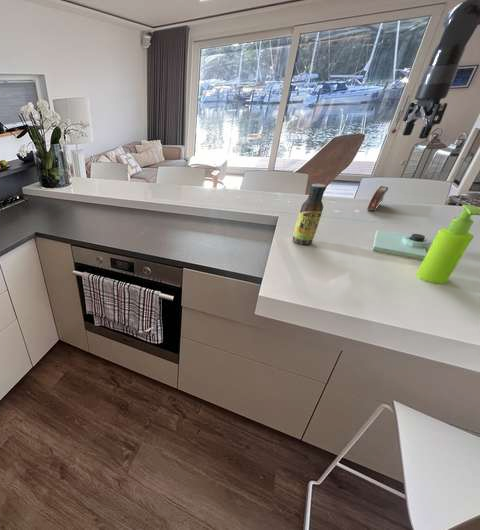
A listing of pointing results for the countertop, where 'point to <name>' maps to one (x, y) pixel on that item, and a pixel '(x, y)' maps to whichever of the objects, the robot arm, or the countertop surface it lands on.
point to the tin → (377, 197)
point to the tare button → (417, 237)
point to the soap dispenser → (448, 248)
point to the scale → (399, 244)
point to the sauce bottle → (309, 215)
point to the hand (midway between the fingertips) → (414, 136)
